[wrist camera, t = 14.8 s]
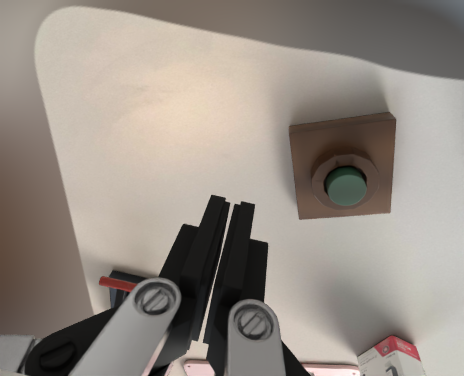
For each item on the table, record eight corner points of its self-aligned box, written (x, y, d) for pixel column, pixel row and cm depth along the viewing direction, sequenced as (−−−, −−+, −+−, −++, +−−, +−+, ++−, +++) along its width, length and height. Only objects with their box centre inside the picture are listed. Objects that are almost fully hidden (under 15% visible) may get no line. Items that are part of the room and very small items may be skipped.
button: (325, 168, 31) (327, 176, 29) (363, 164, 30) (367, 172, 29) (326, 198, 33) (328, 207, 31) (362, 195, 32) (366, 204, 30)
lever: (106, 272, 42) (97, 280, 40) (148, 282, 42) (141, 290, 39) (90, 369, 44) (81, 381, 42) (130, 379, 44) (123, 392, 42)
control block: (288, 125, 33) (289, 140, 30) (389, 111, 31) (402, 125, 27) (298, 209, 38) (299, 229, 35) (385, 202, 36) (395, 223, 33)
